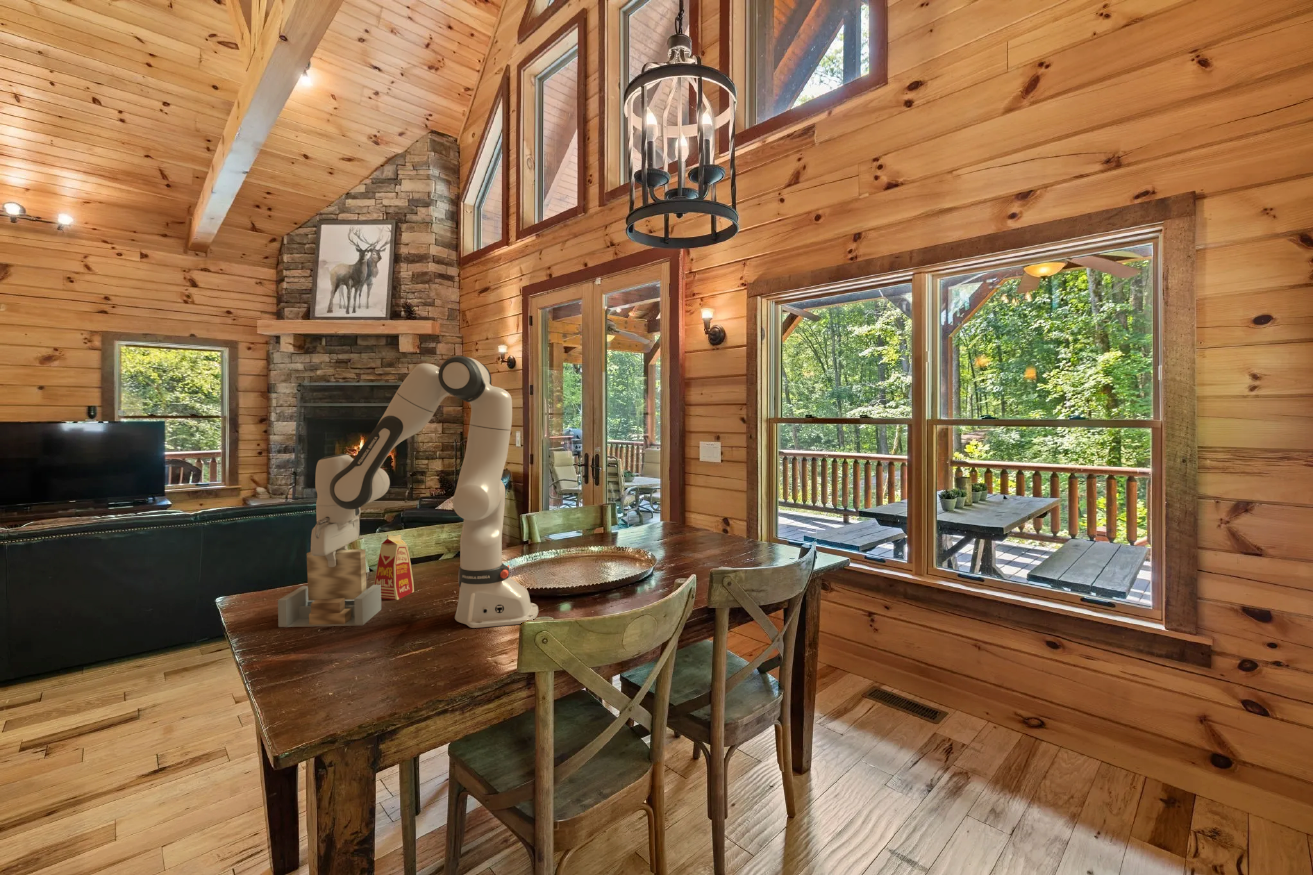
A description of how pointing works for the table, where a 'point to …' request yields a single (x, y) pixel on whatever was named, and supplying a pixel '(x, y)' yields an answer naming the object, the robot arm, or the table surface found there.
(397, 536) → the milk carton
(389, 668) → the table surface
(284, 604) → the rack
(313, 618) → the offcut
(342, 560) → the panel
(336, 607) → the offcut
